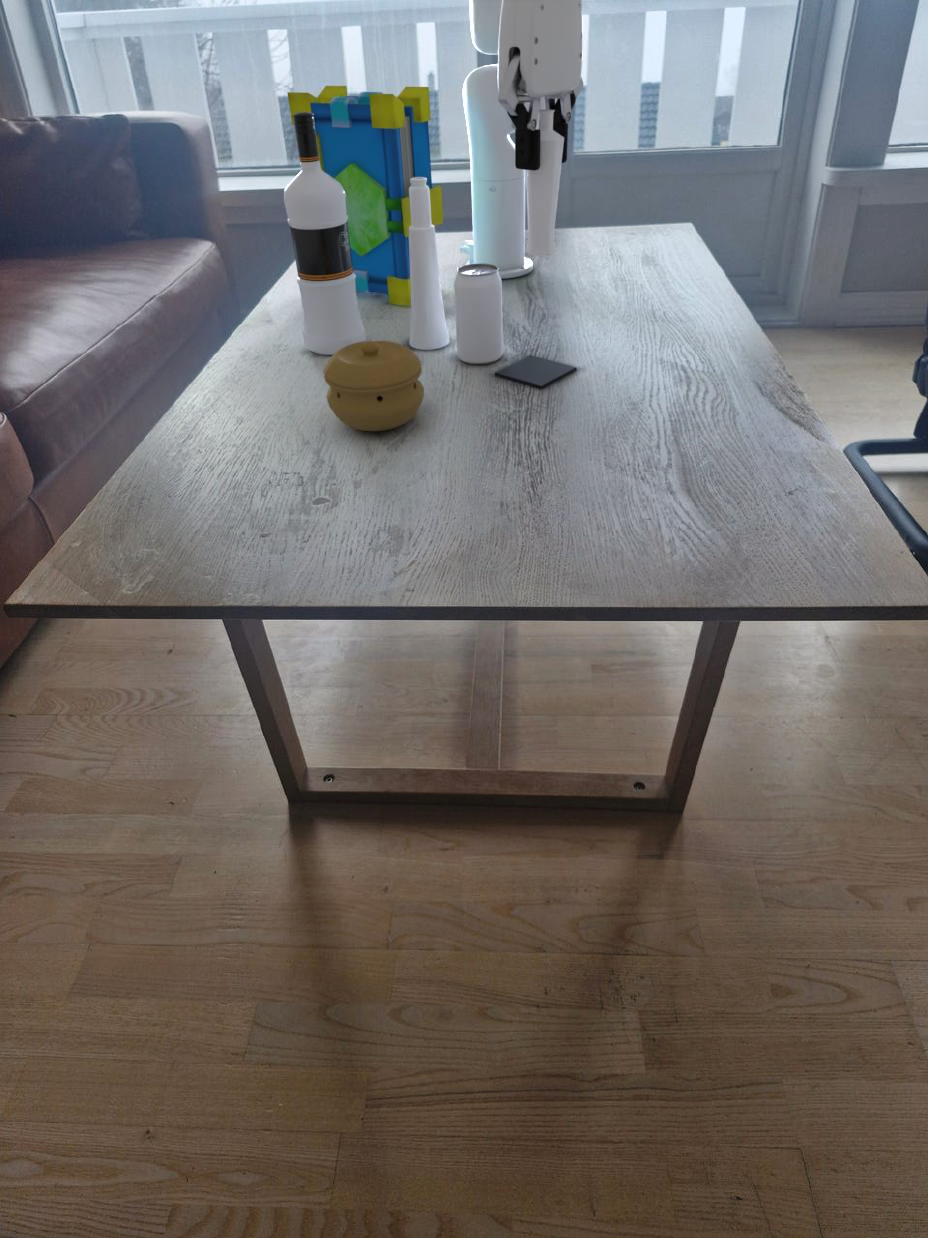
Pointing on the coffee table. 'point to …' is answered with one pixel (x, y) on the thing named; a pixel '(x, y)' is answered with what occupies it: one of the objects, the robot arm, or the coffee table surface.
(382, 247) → the decorative book
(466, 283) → the can
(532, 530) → the coffee table surface
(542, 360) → the coaster
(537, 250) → the perfume bottle
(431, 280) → the cosmetic bottle
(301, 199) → the vodka
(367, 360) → the pot
